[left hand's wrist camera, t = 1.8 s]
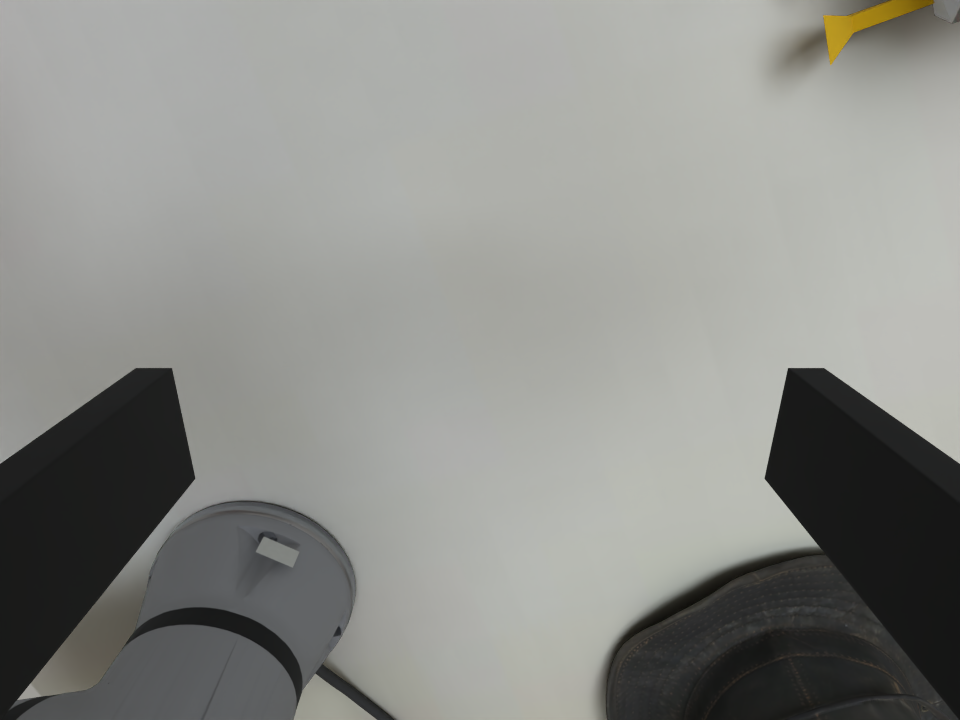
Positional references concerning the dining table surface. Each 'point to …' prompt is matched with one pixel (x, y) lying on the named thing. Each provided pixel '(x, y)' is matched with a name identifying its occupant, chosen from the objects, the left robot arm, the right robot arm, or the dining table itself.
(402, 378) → the dining table surface
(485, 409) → the dining table surface
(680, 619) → the hat
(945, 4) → the toy
